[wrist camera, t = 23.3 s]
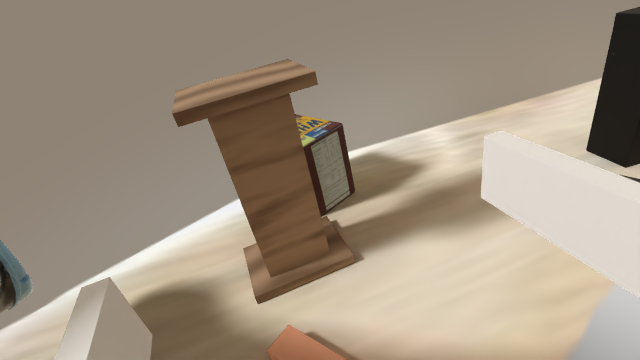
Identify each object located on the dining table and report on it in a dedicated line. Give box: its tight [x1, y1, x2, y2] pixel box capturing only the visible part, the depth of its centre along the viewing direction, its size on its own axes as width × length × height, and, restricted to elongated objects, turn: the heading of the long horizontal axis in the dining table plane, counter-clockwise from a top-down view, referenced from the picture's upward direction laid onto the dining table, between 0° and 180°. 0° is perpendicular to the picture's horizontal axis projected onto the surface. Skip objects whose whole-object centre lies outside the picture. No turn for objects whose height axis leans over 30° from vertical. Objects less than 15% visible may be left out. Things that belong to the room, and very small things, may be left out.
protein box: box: [295, 114, 355, 216], centre depth 69 cm, size 10×15×16 cm
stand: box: [172, 59, 355, 304], centre depth 49 cm, size 12×16×30 cm
